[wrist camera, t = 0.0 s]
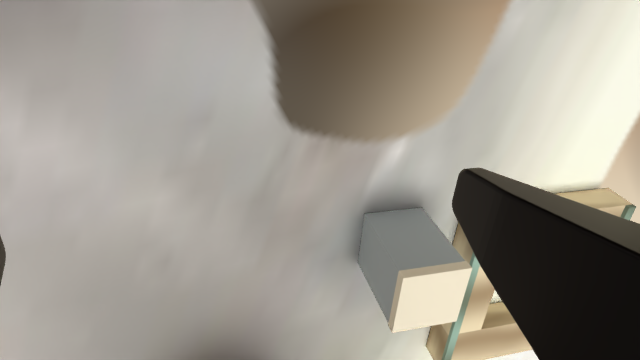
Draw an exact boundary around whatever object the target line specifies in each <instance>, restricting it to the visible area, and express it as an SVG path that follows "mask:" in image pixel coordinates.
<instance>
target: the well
mask: <svg viewBox="0 0 640 360" xmlns="http://www.w3.org/2000/svg"><path fill="white" fill-rule="evenodd" d="M556 195H559V196H562V197H564V198H567V199H570V200H573V201H576V202H579V203H582V204H584V205H587V206H590V207H593V208H596V209H599V210H601V211H604V212H607V213H610V214H613V215H616V216H618V217H621V218H624V219H627V220H630V219H631V217H632V214H633V212H634V210H635V208H636V206H634V205H633V204H631V203H630V202H628V201H627V200H625V199H624V198H622V197H621V196H619V195H618V194H617V193H615V192H614V191H612V190H611V189H609V188H603V189H594V190H584V191H575V192H566V193H557V194H556ZM453 247H454V248H455V249H456V250H457V251H458V253H459V254H460V255H461V256H462V258H463V259H464V260H465V261H467V262H468V263H469V264H470V266H471V267H472V271H471V275H470V278H469V281H468V285H467V288H466V291H465V295H464V298H463V301H462V305H461V308H460V311H459V315H458V318H457V321H456V322H450V323H445V324H439V325H433V326H431V329H430V333H429V337H428V341H427V345H426V347H427V349H428V351H429V353H430V355H431V356H432V358H433V360H485V359H489V358H494V357H499V356H504V355H509V354H513V353H518V352H523V351H528V350H533V349H532V347H531V346H530V344H529V343H528V341H527V340H526V338H525V336H524V335H523V333H522V332H521V330H520V328H519V327H518V325H517V324H516V322H515V321H514V319H513V317H512V316H511V314H510V313H509V311H508V309H507V308H506V306H505V305H504V303H503V302H499V303H493V304H490V302H491V299H492V296H493V293H494V290H495V289H494V287H493V286H492V284H491V283H490V281H489V279H488V278H487V276H486V275H485V273H484V271H483V270H482V268H481V266H480V264H479V262H478V260H477V259H476V257H475V255H474V253H473V251H472V249H471V246H470V244H469V242H468V240H467V238H466V236H465V234H464V232H463V230H462V228H461V226H460V224H459V222H458V226H457V230H456V234H455V237H454V241H453Z"/></svg>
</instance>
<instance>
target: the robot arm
mask: <svg viewBox="0 0 640 360" xmlns="http://www.w3.org/2000/svg"><path fill="white" fill-rule="evenodd" d="M452 208H453V212H454V214H455V216H456V218H457V220H458V222H459V224H460V226H461V228H462V230H463V232H464V234H465V236H466V238H467V240H468V242H469V244H470V246H471V249H472V251H473V253H474V255H475V257H476V259H477V260H478V262H479V264H480V266H481V268H482V270H483V271H484V273H485V275H486V276H487V278H488V279H489V281H490V283H491V284H492V286H493V287H494V289H495V290H496V292H497V294H498V295H499V297H500V298H501V300H502V302H503V303H504V305H505V306H506V308H507V309H508V311H509V313H510V314H511V316H512V317H513V319H514V321H515V322H516V324H517V325H518V327H519V328H520V330H521V332H522V333H523V335H524V336H525V338H526V340H527V341H528V343H529V344H530V346H531V347H532V349H533V351H534V352H535V354H536V355H537V357H538V359H539V360H640V224H638V223H635V222H633V221H630V220H627V219H624V218H621V217H618V216H616V215H613V214H610V213H607V212H604V211H601V210H599V209H596V208H593V207H590V206H587V205H584V204H582V203H579V202H576V201H573V200H570V199H567V198H564V197H562V196H559V195H556V194H553V193H550V192H547V191H545V190H542V189H539V188H536V187H533V186H530V185H528V184H525V183H522V182H519V181H516V180H513V179H511V178H508V177H505V176H502V175H499V174H496V173H494V172H491V171H488V170H485V169H482V168H469V169H463V170H462V171H461V172H460V173H459V176H458V180H457V184H456V188H455V192H454V196H453V200H452ZM5 260H6V253H5V248H4V244H3V242H2V239H1V236H0V285H1V280H2V275H3V270H4V266H5Z"/></svg>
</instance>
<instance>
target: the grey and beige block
mask: <svg viewBox="0 0 640 360" xmlns="http://www.w3.org/2000/svg"><path fill="white" fill-rule="evenodd" d="M358 264H359V266H360V268H361V270H362V272H363V274H364V276H365V278H366V280H367V282H368V284H369V286H370V288H371V290H372V292H373V294H374V296H375V298H376V300H377V301H378V303H379V305H380V307H381V309H382V311H383V313H384V315H385V317H386V319H387V321H388V326H389V328H390V330H391V332H392V333H395V332H400V331H406V330H411V329H417V328H422V327H428V326H433V325H439V324H445V323H450V322H456V321H457V318H458V315H459V311H460V308H461V305H462V301H463V298H464V295H465V291H466V288H467V285H468V281H469V278H470V275H471V271H472V267H471V266H470V264H469V263H468V262H467V261H465V260H464V259H463V258H462V256H461V255H460V254H459V253H458V251H457V250H456V249H455V248H454V247H453V245H452V244H451V243H450V242H449V240H448V239H447V238H446V237H445V235H444V234H443V233H442V232H441V230H440V229H439V228H438V227H437V225H436V224H435V223H434V222H433V220H432V219H431V218H430V217H429V215H428V214H427V213H426V212H425V210H424V209H423V208H412V209H403V210H394V211H384V212H375V213H366V214H364V220H363V228H362V235H361V243H360V250H359V257H358Z"/></svg>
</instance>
